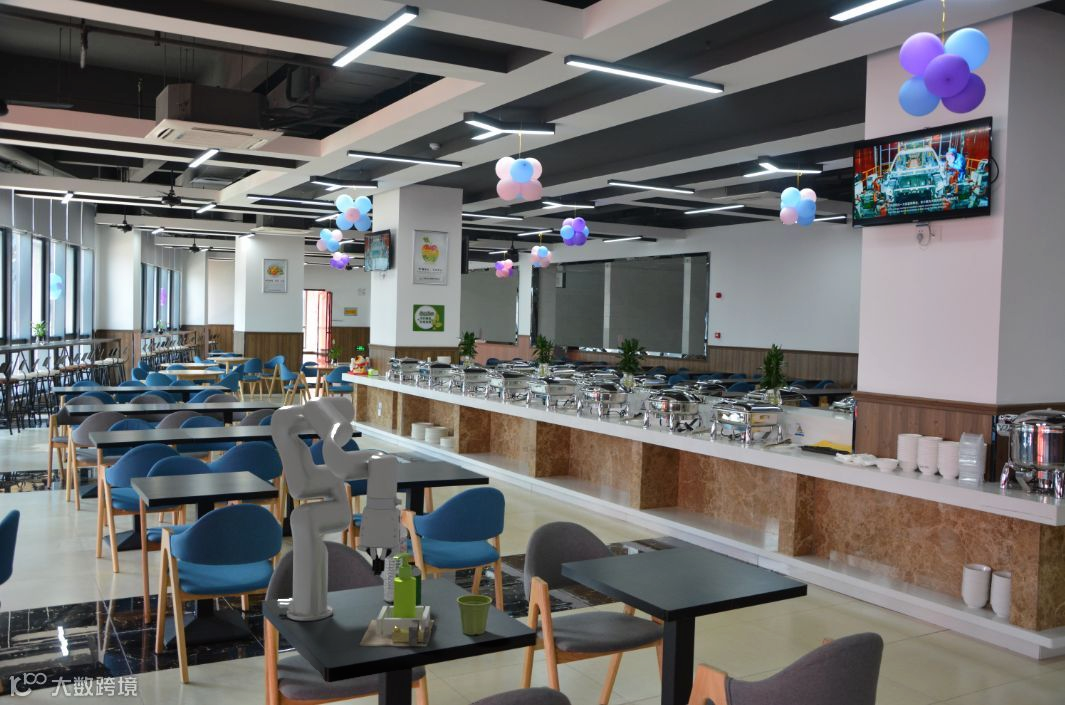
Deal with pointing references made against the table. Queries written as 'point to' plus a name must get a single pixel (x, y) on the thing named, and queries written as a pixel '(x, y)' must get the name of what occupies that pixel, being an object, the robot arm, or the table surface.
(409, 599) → the soap dispenser
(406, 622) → the dock
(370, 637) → the base board
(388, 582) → the water bottle
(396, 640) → the tan rectangular block
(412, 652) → the table surface
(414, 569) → the soda can
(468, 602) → the plant pot
